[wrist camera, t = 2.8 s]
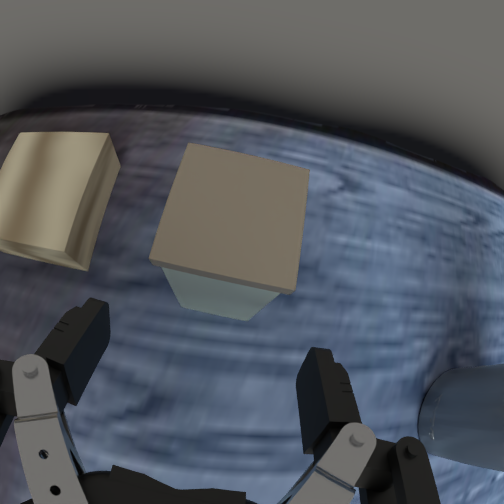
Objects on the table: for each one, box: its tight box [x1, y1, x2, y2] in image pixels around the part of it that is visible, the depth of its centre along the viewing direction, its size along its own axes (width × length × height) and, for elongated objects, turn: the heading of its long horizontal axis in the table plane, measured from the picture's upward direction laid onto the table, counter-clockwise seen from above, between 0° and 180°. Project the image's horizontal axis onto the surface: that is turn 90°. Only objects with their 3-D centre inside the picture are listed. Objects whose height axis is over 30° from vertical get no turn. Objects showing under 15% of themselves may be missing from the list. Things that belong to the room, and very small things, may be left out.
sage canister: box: [149, 143, 310, 321], centre depth 17 cm, size 5×5×12 cm
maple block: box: [0, 132, 121, 271], centre depth 21 cm, size 10×10×5 cm
